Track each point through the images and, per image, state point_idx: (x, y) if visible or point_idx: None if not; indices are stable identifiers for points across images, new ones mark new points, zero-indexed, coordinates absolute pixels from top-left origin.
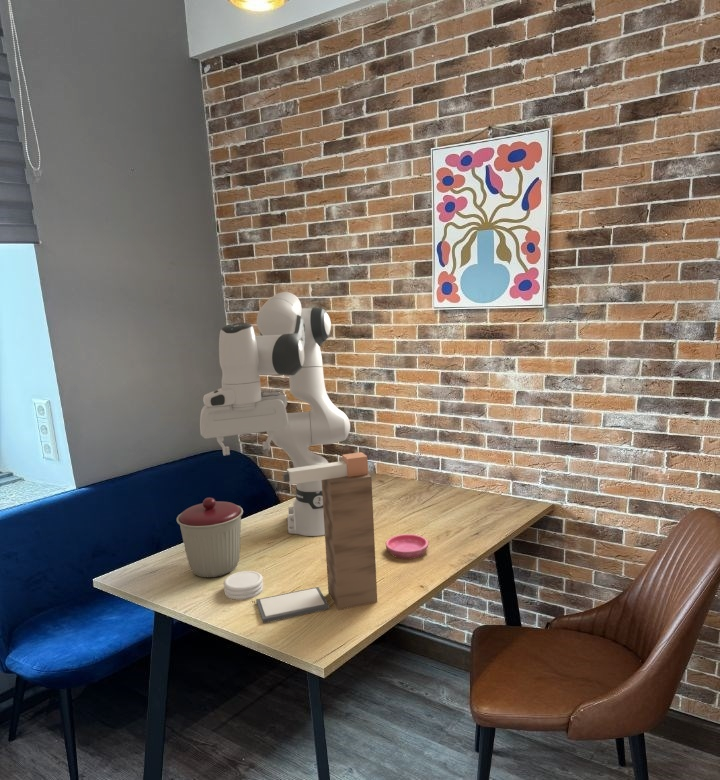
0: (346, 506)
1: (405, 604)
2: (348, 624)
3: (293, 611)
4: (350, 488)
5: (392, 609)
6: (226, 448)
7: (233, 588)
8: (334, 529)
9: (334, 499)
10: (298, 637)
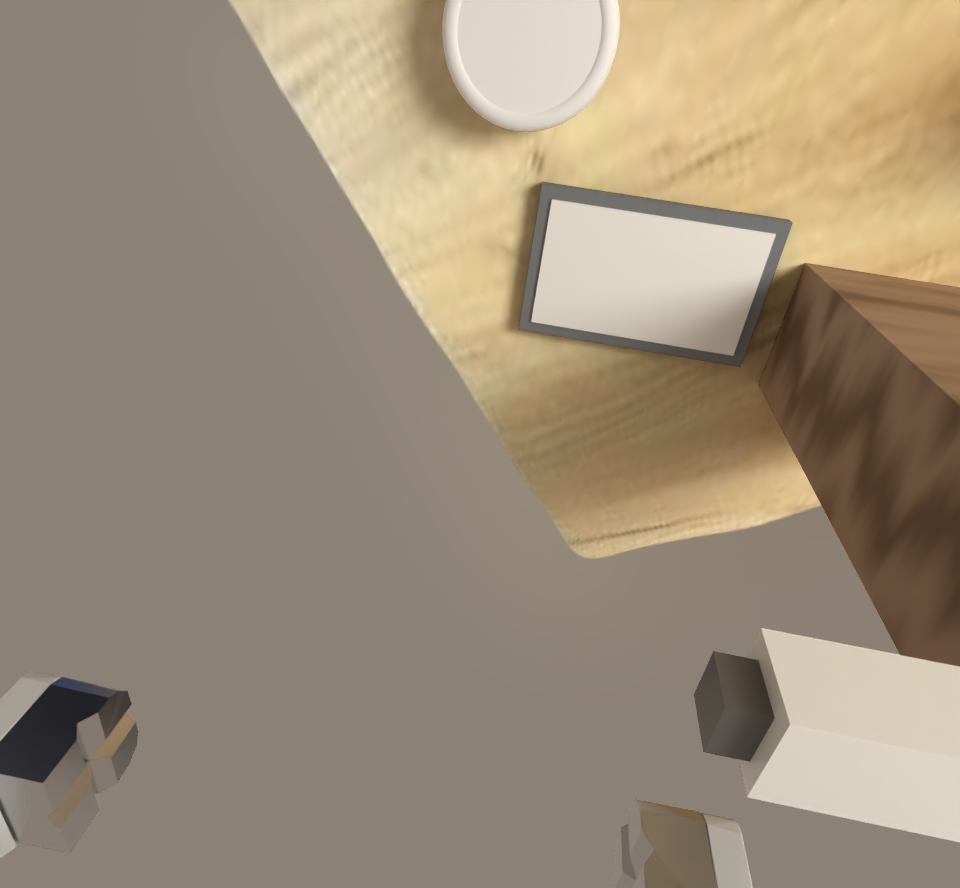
0: None
1: None
2: (733, 463)
3: (622, 339)
4: None
5: None
6: (30, 836)
7: (468, 103)
8: (860, 572)
9: None
10: (581, 442)
